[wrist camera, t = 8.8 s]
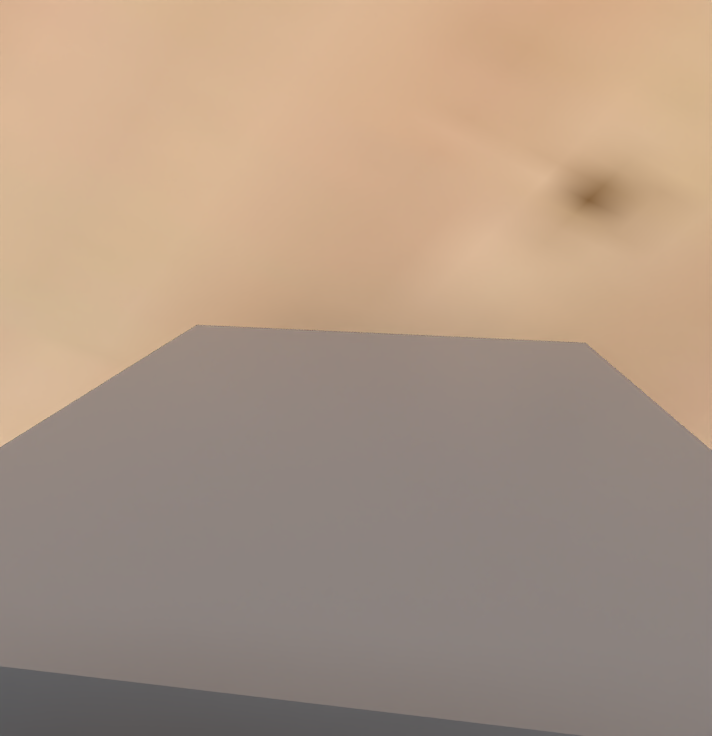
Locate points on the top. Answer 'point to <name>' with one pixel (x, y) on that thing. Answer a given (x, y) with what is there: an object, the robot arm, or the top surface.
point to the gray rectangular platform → (357, 546)
